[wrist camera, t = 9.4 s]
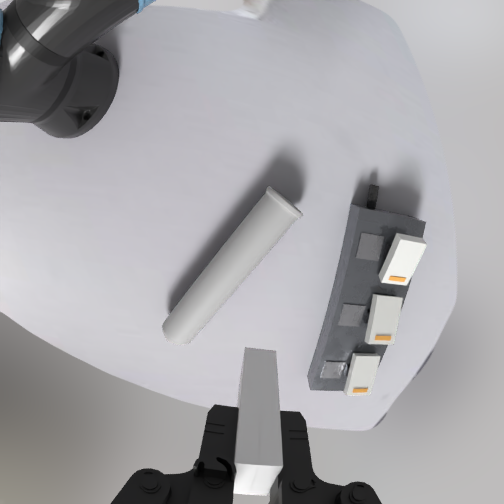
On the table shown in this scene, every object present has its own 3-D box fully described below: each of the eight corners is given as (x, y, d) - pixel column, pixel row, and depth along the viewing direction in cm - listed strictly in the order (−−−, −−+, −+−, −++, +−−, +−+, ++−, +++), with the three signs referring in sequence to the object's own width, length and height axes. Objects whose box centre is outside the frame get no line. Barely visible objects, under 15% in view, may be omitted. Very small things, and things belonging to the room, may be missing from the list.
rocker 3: (373, 294, 34) (378, 295, 33) (397, 296, 34) (403, 297, 33) (364, 341, 34) (368, 344, 33) (389, 341, 34) (394, 344, 33)
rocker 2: (396, 232, 30) (401, 239, 29) (422, 238, 30) (427, 245, 29) (378, 275, 34) (381, 283, 32) (403, 278, 34) (407, 286, 32)
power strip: (354, 181, 34) (365, 183, 30) (417, 196, 34) (432, 200, 30) (307, 375, 43) (310, 392, 39) (361, 377, 43) (368, 392, 39)
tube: (148, 330, 37) (263, 182, 30) (168, 319, 42) (273, 188, 35) (175, 358, 36) (300, 213, 30) (193, 344, 41) (305, 215, 35)
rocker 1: (353, 353, 37) (356, 356, 35) (376, 353, 37) (381, 356, 36) (343, 391, 37) (346, 396, 35) (366, 391, 37) (370, 395, 35)
